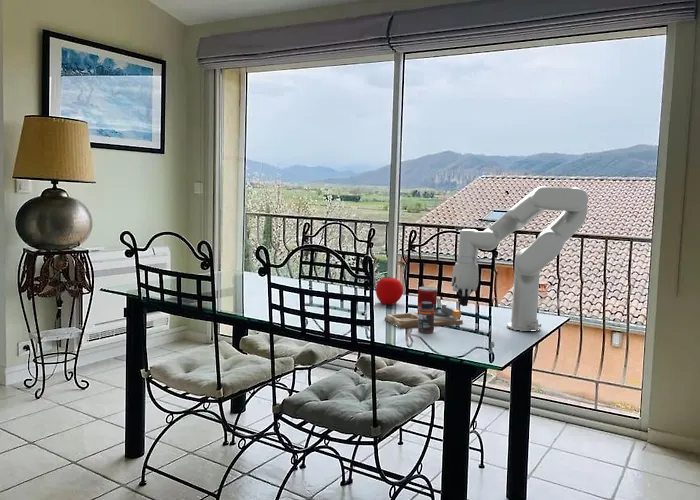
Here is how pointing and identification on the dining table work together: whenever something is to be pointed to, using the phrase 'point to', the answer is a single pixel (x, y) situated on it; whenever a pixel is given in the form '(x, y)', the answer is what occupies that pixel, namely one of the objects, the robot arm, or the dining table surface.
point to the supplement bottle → (426, 318)
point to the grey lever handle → (447, 311)
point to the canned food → (427, 296)
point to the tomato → (389, 290)
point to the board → (412, 320)
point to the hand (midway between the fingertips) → (463, 305)
